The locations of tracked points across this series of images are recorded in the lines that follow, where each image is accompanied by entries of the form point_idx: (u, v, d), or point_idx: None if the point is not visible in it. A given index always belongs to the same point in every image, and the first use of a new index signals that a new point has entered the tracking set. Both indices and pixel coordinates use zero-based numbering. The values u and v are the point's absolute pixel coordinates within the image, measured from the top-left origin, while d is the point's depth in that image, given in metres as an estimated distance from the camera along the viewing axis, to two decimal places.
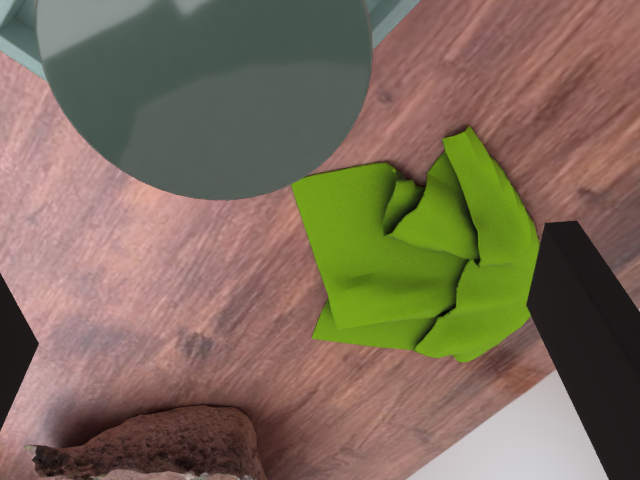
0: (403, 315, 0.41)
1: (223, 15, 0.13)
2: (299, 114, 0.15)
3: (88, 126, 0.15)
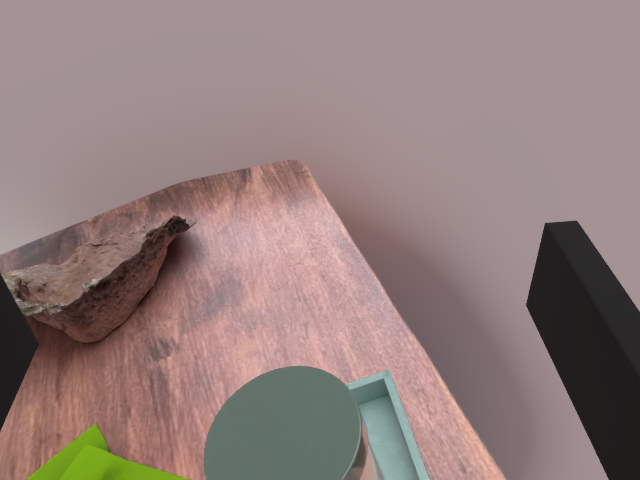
0: None
1: (293, 453, 0.26)
2: (232, 460, 0.27)
3: (296, 371, 0.30)
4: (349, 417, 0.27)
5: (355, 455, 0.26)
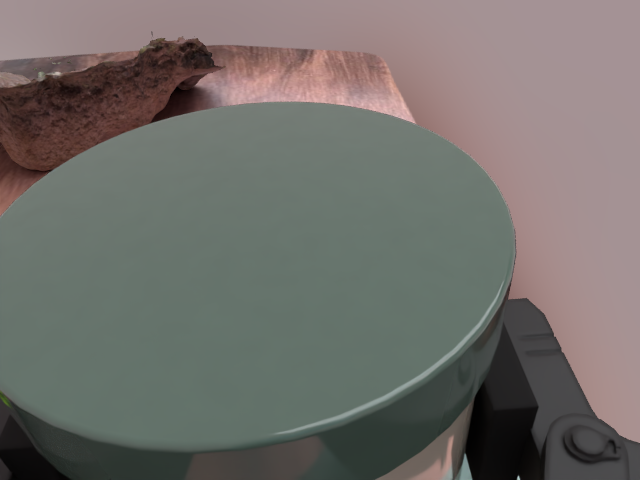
0: None
1: (265, 260, 0.08)
2: (74, 234, 0.09)
3: (335, 111, 0.11)
4: (475, 218, 0.08)
5: (487, 316, 0.07)
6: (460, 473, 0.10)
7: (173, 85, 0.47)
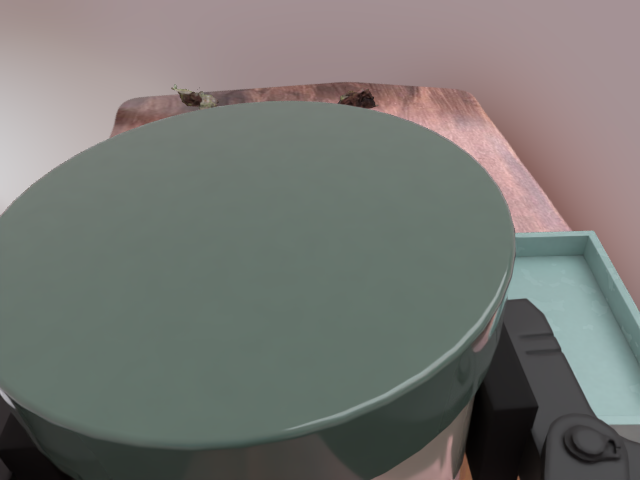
0: None
1: (264, 259, 0.08)
2: (74, 233, 0.09)
3: (336, 110, 0.11)
4: (475, 217, 0.08)
5: (487, 315, 0.07)
6: (460, 472, 0.10)
7: None
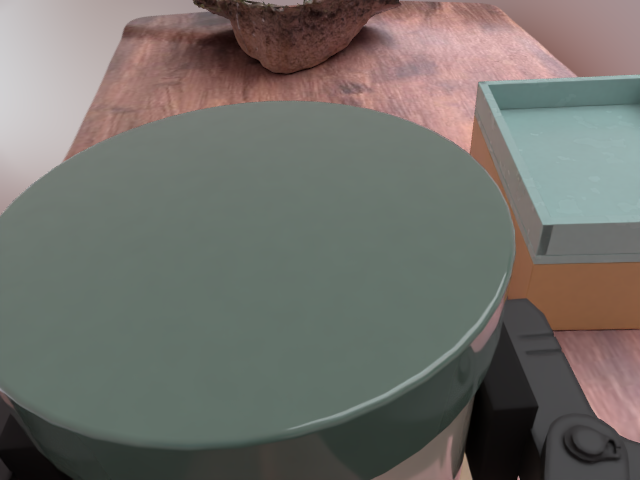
0: None
1: (264, 259, 0.08)
2: (74, 233, 0.09)
3: (335, 110, 0.11)
4: (475, 217, 0.08)
5: (487, 315, 0.07)
6: (460, 472, 0.10)
7: (369, 16, 0.66)
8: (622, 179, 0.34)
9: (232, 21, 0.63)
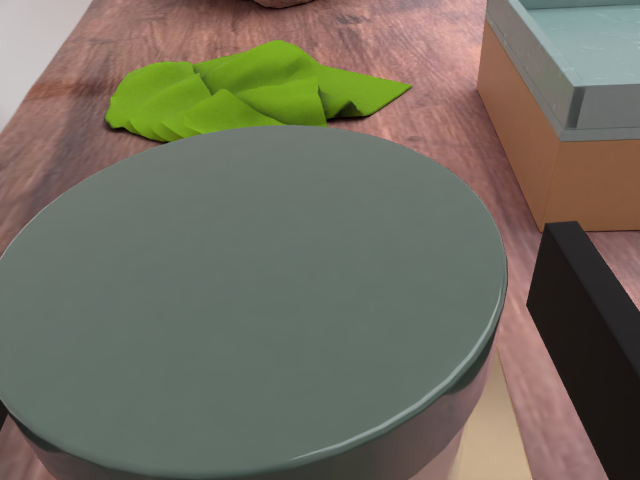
0: (239, 57, 0.44)
1: (266, 289, 0.08)
2: (83, 261, 0.09)
3: (335, 135, 0.12)
4: (469, 247, 0.09)
5: (479, 346, 0.07)
6: None
7: None
8: None
9: None
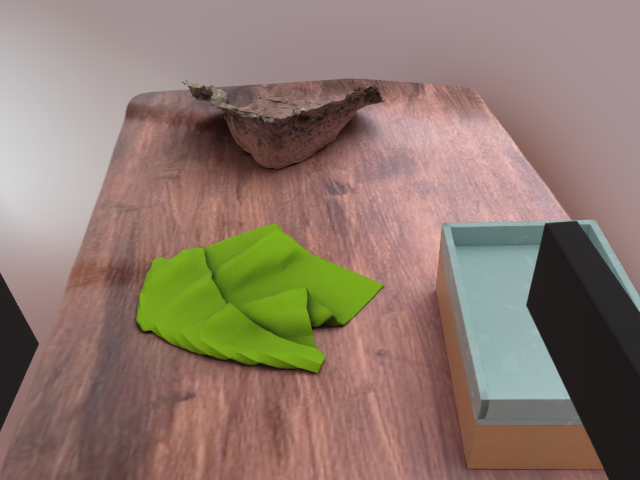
0: (243, 255, 0.54)
1: None
2: None
3: None
4: None
5: None
6: None
7: (354, 113, 0.71)
8: None
9: (227, 121, 0.68)
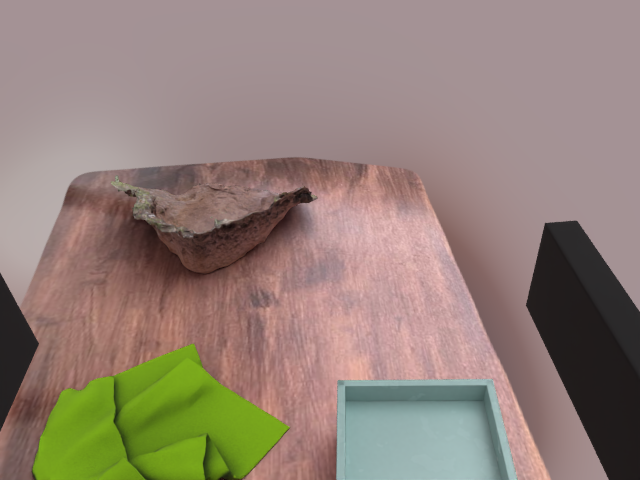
0: (149, 392, 0.53)
1: None
2: None
3: None
4: None
5: None
6: None
7: (285, 213, 0.70)
8: None
9: (153, 226, 0.67)
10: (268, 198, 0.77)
